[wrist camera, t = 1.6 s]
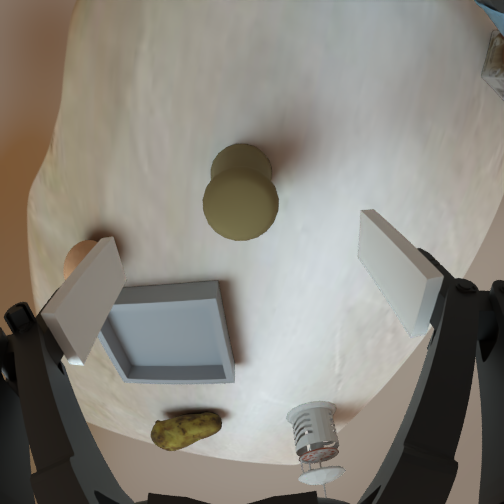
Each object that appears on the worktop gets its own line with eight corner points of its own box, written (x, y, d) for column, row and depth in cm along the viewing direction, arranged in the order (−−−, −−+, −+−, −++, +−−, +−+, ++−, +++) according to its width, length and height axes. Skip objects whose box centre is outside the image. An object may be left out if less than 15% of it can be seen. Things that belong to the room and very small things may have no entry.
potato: (220, 427, 51) (219, 461, 44) (157, 419, 50) (151, 452, 43) (223, 407, 47) (221, 445, 40) (152, 398, 46) (144, 435, 39)
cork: (282, 160, 28) (305, 192, 18) (254, 212, 30) (260, 267, 20) (227, 133, 26) (217, 148, 17) (200, 187, 29) (179, 232, 19)
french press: (344, 400, 48) (373, 519, 26) (321, 429, 53) (340, 531, 31) (295, 400, 46) (313, 531, 24) (277, 429, 52) (287, 538, 30)
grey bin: (218, 280, 34) (215, 298, 31) (234, 364, 41) (234, 382, 38) (92, 289, 34) (82, 305, 31) (129, 365, 41) (124, 382, 38)
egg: (103, 223, 30) (74, 253, 24) (127, 262, 32) (105, 297, 26) (73, 241, 31) (44, 271, 25) (96, 276, 33) (73, 311, 27)
